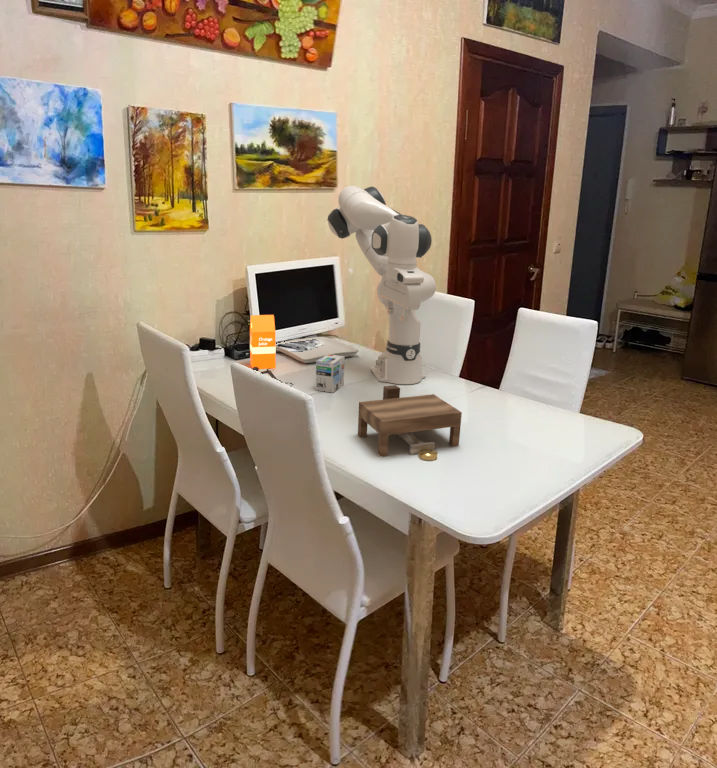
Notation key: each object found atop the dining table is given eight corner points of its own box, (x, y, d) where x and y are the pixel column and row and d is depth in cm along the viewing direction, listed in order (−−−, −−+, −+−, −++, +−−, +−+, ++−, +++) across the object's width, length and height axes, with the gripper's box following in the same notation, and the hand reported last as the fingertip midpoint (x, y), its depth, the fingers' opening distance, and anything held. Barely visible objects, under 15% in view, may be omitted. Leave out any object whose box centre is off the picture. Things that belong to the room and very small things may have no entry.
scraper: (375, 422, 193) (376, 385, 189) (396, 420, 195) (398, 383, 192) (411, 454, 171) (413, 413, 168) (434, 451, 174) (437, 410, 170)
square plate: (269, 351, 268) (269, 342, 267) (324, 343, 284) (324, 335, 283) (303, 367, 248) (303, 357, 246) (360, 358, 263) (360, 349, 262)
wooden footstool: (357, 434, 183) (359, 401, 180) (431, 425, 192) (433, 394, 189) (380, 456, 169) (382, 421, 166) (458, 445, 178) (461, 412, 175)
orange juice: (250, 363, 248) (249, 313, 242) (272, 362, 251) (272, 312, 244) (252, 369, 241) (251, 317, 235) (275, 368, 243) (275, 317, 237)
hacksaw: (251, 369, 242) (251, 366, 241) (278, 368, 245) (278, 364, 245) (265, 389, 220) (265, 385, 220) (294, 387, 224) (294, 382, 224)
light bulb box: (333, 393, 218) (333, 363, 215) (315, 390, 220) (315, 360, 217) (344, 384, 227) (345, 355, 224) (327, 382, 230) (327, 353, 226)
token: (415, 455, 172) (415, 450, 171) (431, 453, 174) (431, 447, 173) (423, 462, 167) (424, 457, 167) (440, 460, 169) (440, 455, 169)
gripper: (376, 266, 196) (373, 310, 201) (407, 279, 179) (403, 326, 183) (394, 266, 199) (391, 309, 203) (427, 278, 181) (422, 325, 186)
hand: (397, 317), depth 193 cm, fingers open, 8 cm apart
